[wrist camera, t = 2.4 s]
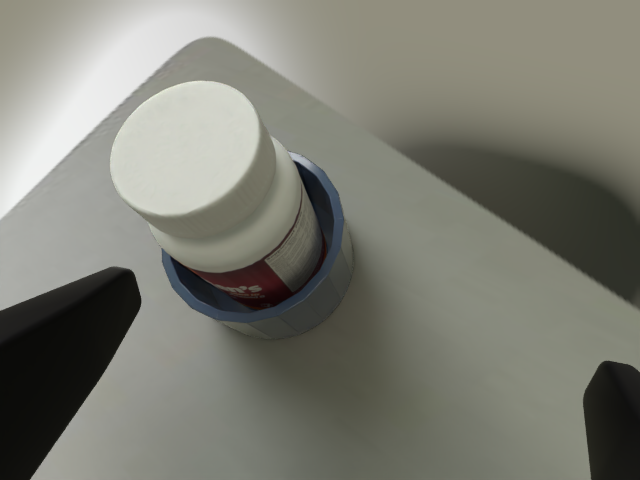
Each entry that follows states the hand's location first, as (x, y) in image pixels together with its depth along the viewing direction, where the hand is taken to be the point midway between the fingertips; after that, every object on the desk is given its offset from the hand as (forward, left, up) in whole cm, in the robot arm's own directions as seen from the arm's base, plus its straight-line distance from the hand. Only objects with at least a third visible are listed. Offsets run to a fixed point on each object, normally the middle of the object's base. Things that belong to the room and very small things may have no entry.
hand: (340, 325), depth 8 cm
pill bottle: (-2, +8, -14) cm, 16 cm away
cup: (-2, +8, -14) cm, 16 cm away
